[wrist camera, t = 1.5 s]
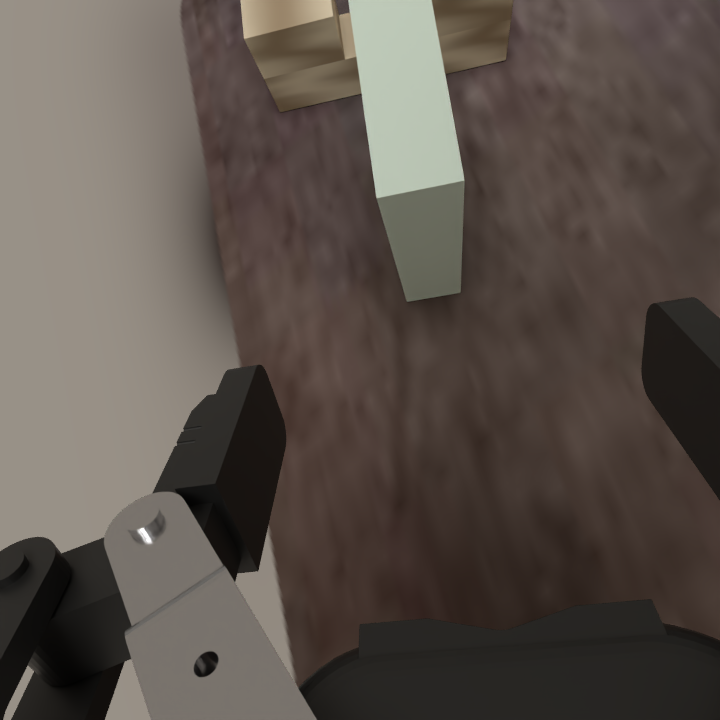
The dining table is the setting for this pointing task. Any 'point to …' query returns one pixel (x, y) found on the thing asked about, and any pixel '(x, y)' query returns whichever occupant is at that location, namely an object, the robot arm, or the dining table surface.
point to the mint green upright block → (411, 142)
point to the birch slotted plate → (337, 48)
